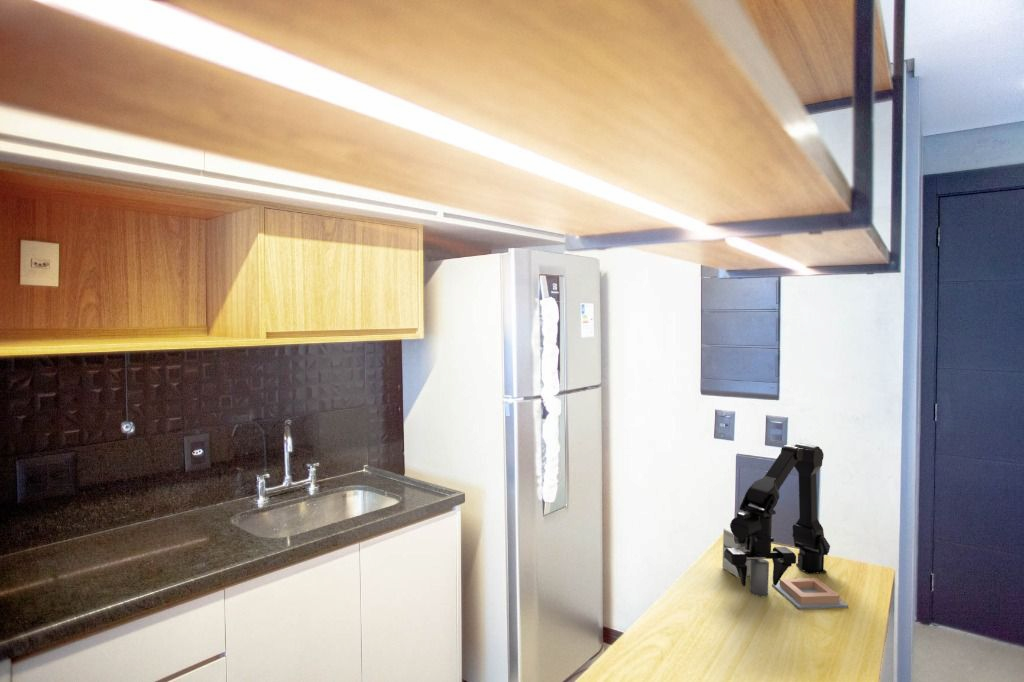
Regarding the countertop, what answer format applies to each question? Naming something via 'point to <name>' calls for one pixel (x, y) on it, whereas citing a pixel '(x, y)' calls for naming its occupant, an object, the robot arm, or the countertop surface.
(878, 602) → the countertop surface
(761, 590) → the grey rounded tapered cylinder
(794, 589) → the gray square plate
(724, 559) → the supplement box
